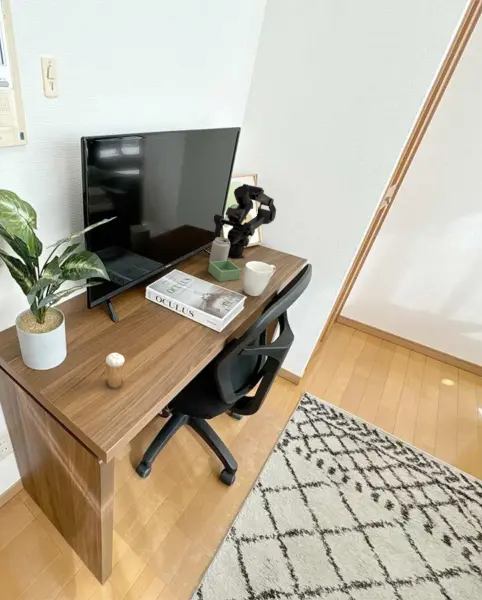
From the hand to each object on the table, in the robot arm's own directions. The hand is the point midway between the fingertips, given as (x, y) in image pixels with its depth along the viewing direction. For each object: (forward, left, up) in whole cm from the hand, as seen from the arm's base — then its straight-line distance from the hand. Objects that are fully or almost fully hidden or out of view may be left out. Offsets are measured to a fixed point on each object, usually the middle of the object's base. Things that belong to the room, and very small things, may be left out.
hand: (223, 240), depth 139 cm
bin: (+4, +10, -11) cm, 16 cm away
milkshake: (+65, +57, -11) cm, 87 cm away
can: (+1, 0, -11) cm, 11 cm away
